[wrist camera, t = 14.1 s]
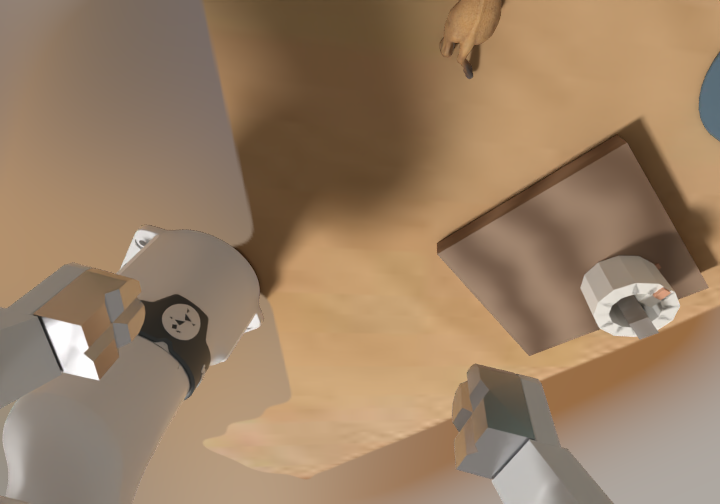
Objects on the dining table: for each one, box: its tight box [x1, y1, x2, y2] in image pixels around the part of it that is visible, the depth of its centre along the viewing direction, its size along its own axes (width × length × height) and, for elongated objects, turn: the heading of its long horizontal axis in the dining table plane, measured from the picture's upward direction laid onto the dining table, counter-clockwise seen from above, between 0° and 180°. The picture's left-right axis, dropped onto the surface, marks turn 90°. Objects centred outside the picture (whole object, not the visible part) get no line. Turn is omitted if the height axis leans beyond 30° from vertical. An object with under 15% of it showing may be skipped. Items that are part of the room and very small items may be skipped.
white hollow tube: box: [580, 256, 680, 337], centre depth 35 cm, size 6×6×4 cm
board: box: [437, 135, 709, 356], centre depth 35 cm, size 18×18×8 cm
